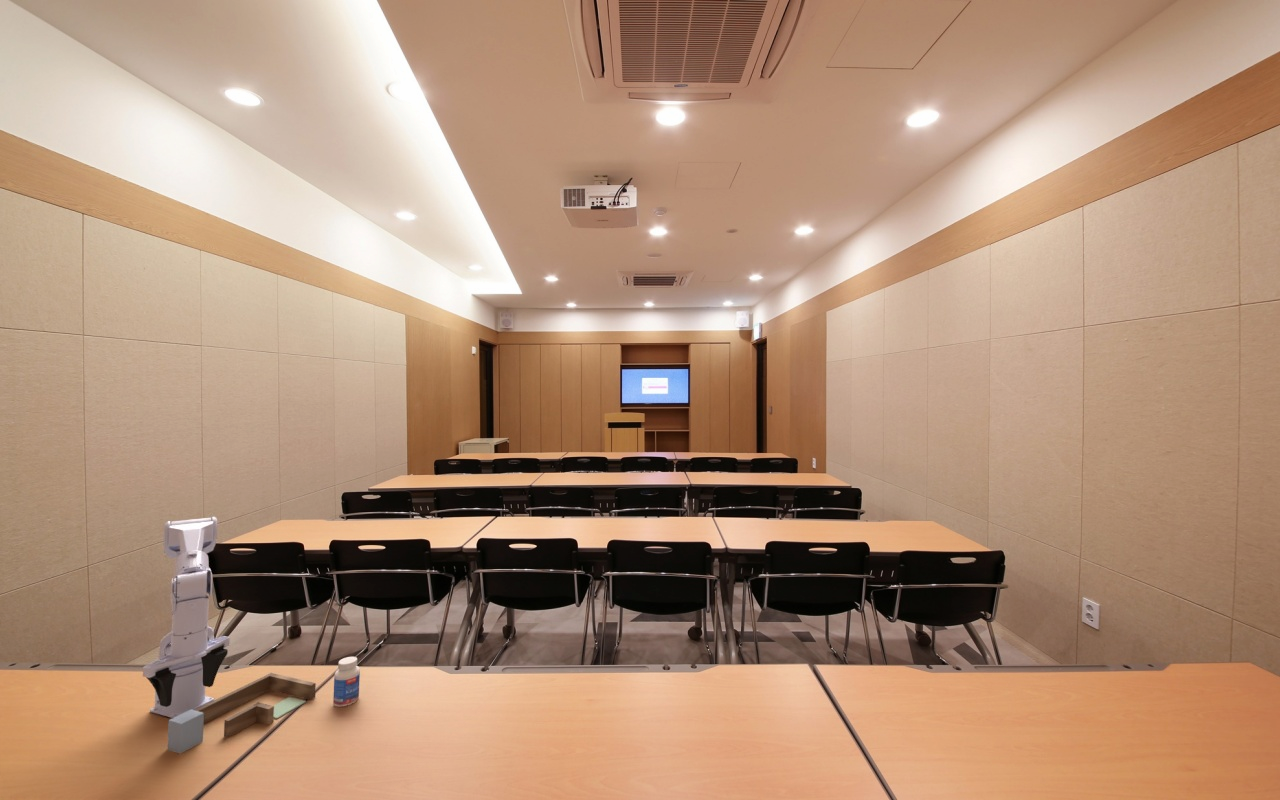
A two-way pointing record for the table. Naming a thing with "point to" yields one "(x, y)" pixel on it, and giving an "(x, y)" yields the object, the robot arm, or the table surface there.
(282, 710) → the pad
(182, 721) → the block
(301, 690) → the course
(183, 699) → the robot arm
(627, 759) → the table surface
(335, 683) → the pill bottle
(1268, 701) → the table surface
